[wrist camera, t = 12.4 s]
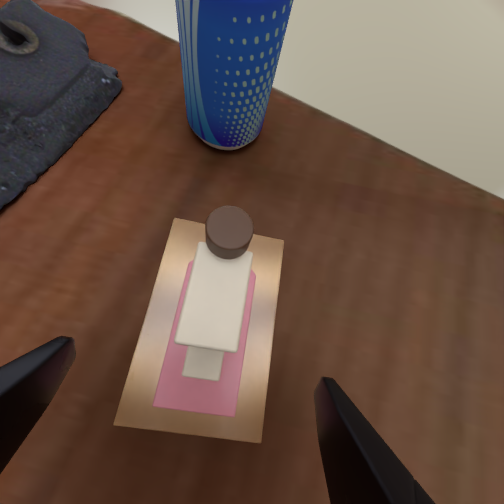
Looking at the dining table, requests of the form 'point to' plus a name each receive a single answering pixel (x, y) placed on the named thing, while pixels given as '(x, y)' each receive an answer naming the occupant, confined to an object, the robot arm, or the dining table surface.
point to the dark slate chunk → (44, 92)
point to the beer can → (229, 65)
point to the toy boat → (211, 321)
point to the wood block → (158, 333)
